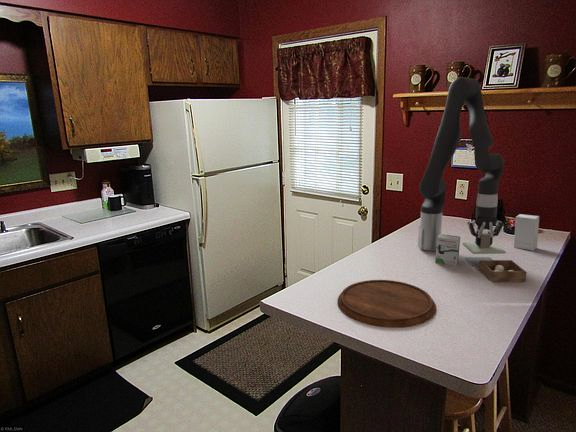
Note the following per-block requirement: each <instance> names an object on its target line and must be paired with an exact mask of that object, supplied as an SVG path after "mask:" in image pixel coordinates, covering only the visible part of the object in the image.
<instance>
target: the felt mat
mask: <svg viewBox="0 0 576 432" xmlns="http://www.w3.org/2000/svg"><path fill="white" fill-rule="evenodd" d="M462 258H463V259H464V261H466V262H467V263H468V265H470V266H471V268H479V262H480V260H494V259H492V258H491V256H481V257H479V256H478V257H477V256H475V257H474V256H471V257H470V256H469V257H467V256H465V257H464V256H463V257H462Z"/></svg>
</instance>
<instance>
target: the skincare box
mask: <svg viewBox="0 0 576 432" xmlns="http://www.w3.org/2000/svg"><path fill="white" fill-rule="evenodd" d="M514 221H515V223H514V224H515V225H514V226H515V227H514V236H513V237H514V239H513V248H516V249H521V250H528V251H535V250H536V249H537V247H538V241H539V240H538V239H539V226H540V215H531V214H522V213H519V214H518V215H517V216H515V220H514Z"/></svg>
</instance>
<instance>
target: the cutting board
mask: <svg viewBox="0 0 576 432" xmlns="http://www.w3.org/2000/svg"><path fill="white" fill-rule="evenodd" d="M337 297H338V298H337V307H338V308H339V310H340V312H342V313H343V314H344V315H345V316H347V317H348V318H350V319H352V320H354V321H355V322H356V321H357V322H359V323H362V324H365V325H367V326H374V327H380V328H392V329H397V328H401V329H402V328H409V327H414V326H418V325H422V324H424V323H427V322H428V321H430V320H431V319H432V318H434V316H435V315H436V312H437V305H436V302H435V300H434V299H433V298H432V297H431V296H430V294H429V293H428V292H427V291H425V290H424V289H422V288H420V287H418V286H415V285H414V284H411V283H406V282H403V281H399V280H389V279H369V280H362V281H358V282H355V283H352V284H350V285H348V286H347V287H345V288H344V289H343V290H342V291H341V292H340V294H339V295H338V296H337Z"/></svg>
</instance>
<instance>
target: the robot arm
mask: <svg viewBox="0 0 576 432" xmlns="http://www.w3.org/2000/svg"><path fill="white" fill-rule="evenodd" d="M464 103H465V105H466V107H467V110H468V113H469V114H468V115H469V125H468V130H469V136H470V138H471V141H472V145H473V148H474V151H473V152H474V154H473V156H474V166H475V167H476V169H477V170H478V171H479V172H480V173H482V174H485V176H484V177H481V178H480V179H479V180H478V188H477V197H476V202H475V203H476V206H475V207H476V208H475V218H474V220H471V221H468V222H466V223H467V225H468V229H469V233H470V234H471V236H473V237H475V243H476V245H477V246H480V242H481V238H480V237H481V234H482V233H484V230H486V231H487V233H488V234H490V235H491V238H490V246H491V245H492V242H493V240H494V239H493V238H494V237H497V236H499V234H500V232H501V230H502V228H503V226H504V222H503V221H501V220H498V219H497V215H498V214H497V212H498V200H499V199H498V197H499V196H498V195H499V194H498V191H499V182H500V180H501V178H502V175H503V171H504V168H505V160H504V157H503V156H502V155H501V154H500V153H496V152H495V153H490V148H492V147H493V146H494V140H493V136H492V134H491V131H490V128H489V124H488V120H487V116H486V113H485V108H484V100H483V95H482V89H481V85H480V82H479V81H478V80H477V79H475V78H471V77H465V76H459V77H457V78H454V80H453V81H452V82H451V83H450V85H449V88H448V93H447V96H446V101H445V106H444V111H443V114H442V117H441V122H440V125H439V127H438V131H437V134H436V137H435V139H434V144H433V146H432V150H431V153H430V157H429V160H428V163H427V167H426V169H425V171H424V173H423V176H422V177H421V180H420V183H419V187H418V189H419V192H420V195H421V196H422V197H423V198H424V200H423V203H421V206H420V222H419V223H420V225H419V227H418V237H417V239H418V240H417V246H418V248H419V249H420V250H421V251H425V252H429V251H430V252H436V246H437V237H438V235H439V234H442V226H443V223H442V222H443V209H444V206H445V203H446V196H447V183H446V180H445V179H444V178H443V174H444V171H445V169H446V167H447V165H448V164H449V162H450V161H451V160H452V158H453V156H454V155H455V152H456V150H457V148H458V145H459V142H460V139H461V134H462V132H461V119H460V118H461V117H460V116H461V114H462V113H461V112H462V109H463V105H464ZM475 224H476V226H477V227H476V230H475ZM494 226H495V228H494Z"/></svg>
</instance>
